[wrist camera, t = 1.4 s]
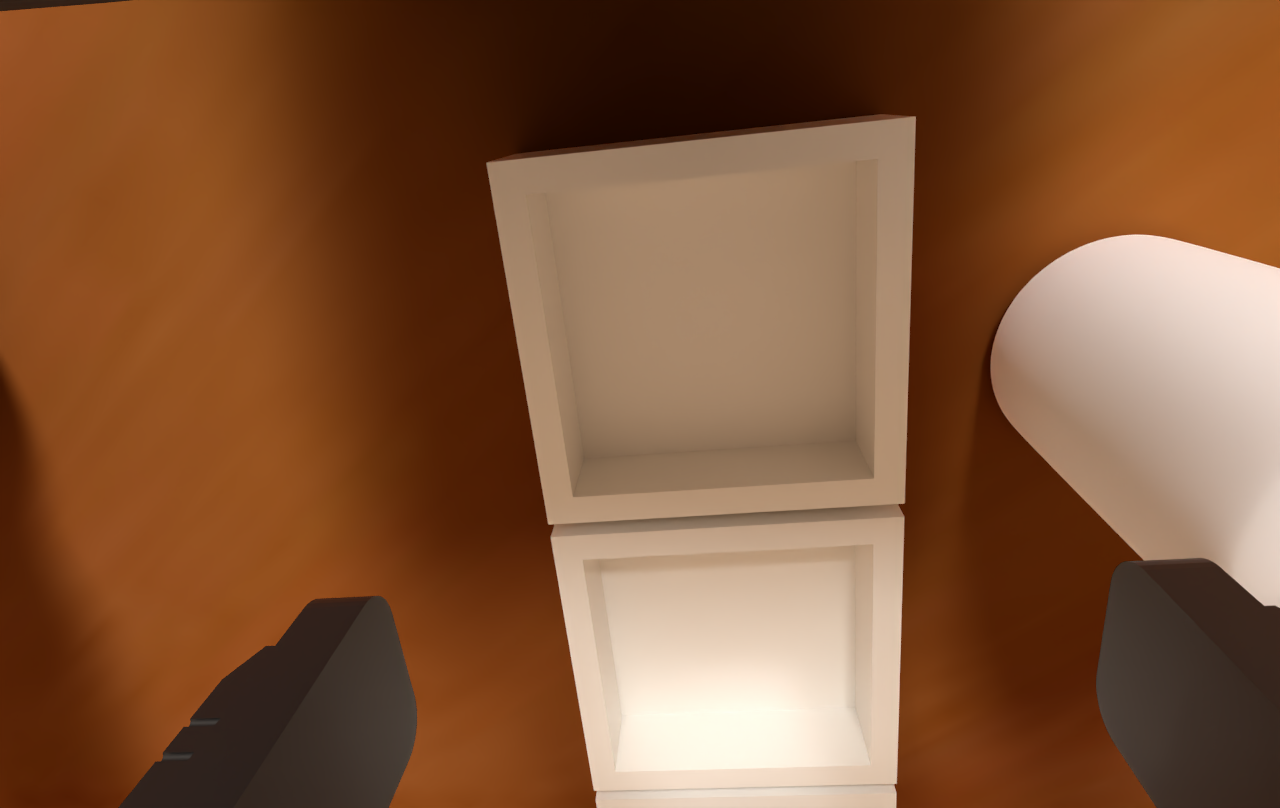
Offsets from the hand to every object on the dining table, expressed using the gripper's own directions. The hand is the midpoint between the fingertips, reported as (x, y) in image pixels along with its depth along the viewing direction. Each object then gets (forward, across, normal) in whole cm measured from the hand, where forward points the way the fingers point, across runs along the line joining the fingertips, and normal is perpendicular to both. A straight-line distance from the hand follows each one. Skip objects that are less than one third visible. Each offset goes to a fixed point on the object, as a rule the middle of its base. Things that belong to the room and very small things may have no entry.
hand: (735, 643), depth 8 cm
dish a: (+14, 0, 0) cm, 14 cm away
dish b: (+14, 0, +10) cm, 17 cm away
